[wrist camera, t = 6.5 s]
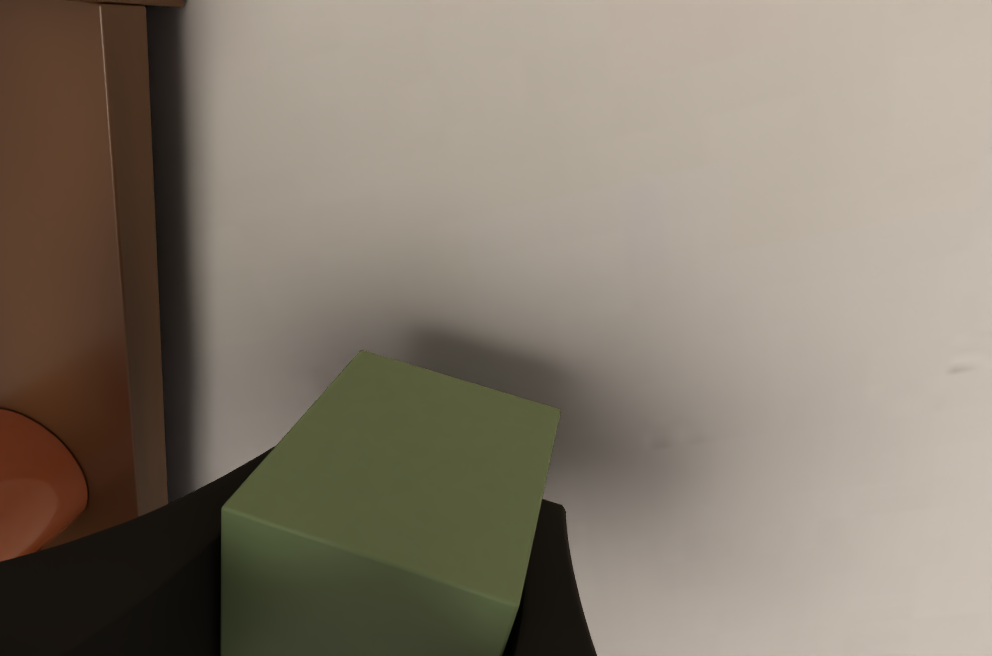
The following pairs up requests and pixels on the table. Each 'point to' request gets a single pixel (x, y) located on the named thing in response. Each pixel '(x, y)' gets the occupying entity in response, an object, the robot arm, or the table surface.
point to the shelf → (82, 246)
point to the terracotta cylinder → (35, 486)
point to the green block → (387, 520)
